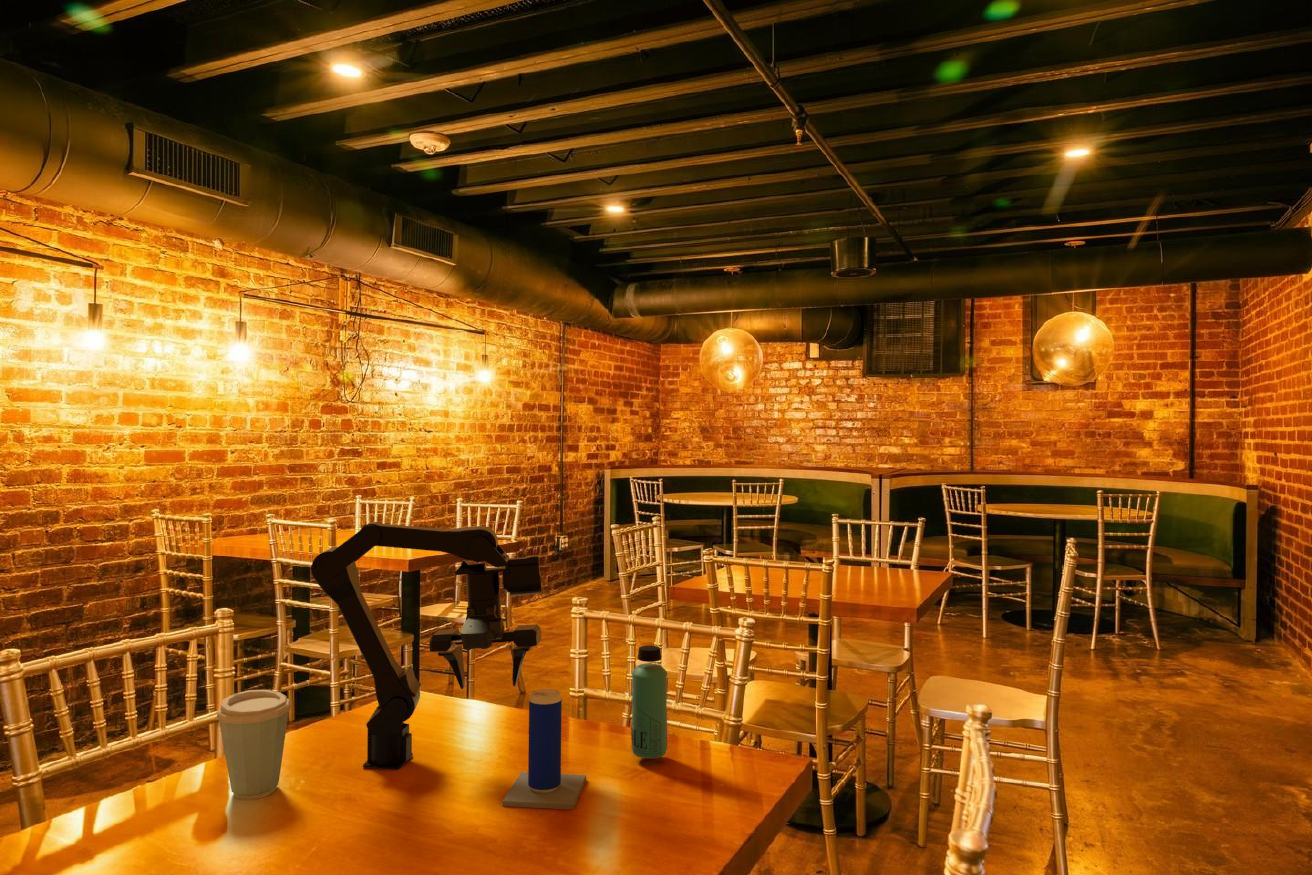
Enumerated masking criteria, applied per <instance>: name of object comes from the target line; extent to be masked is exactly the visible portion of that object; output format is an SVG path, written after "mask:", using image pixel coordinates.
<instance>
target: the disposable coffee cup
mask: <svg viewBox="0 0 1312 875" xmlns="http://www.w3.org/2000/svg"><path fill="white" fill-rule="evenodd" d="M287 697H288V696H287V695H285V694H283V693H282V692H279V691H275V690H270V689H269V690H268V689H249V690H248V689H247V690H245V691H240V692H236V693H233V694H231V695H228V696H227V697H225V698H223V699H222V701H221V704H220V707H219V709H218V711H217V713H216V720H217V721H218V723H219V728H220V735H221V739H222V746H223V751H224V756H225V761H226V768H227V773H228V778H229V779H228V780H229V784H230V785H229V786H230V789H231V793H233V797H235V798H236V799H238V800H244V801H245V800H246V801H249V800H250V801H251V800H256V799H257V800H258V799H261V798H264V797H266V796H270V795H271V794H273V793H274V792H275V791H277V788H278V786H279V782H280V776H281V770H282V769H281V768H282V762H283V754H284V747H285V741H286V735H287V734H286V733H287V726H288V720H289V711H290V710H291V706H292V705H291V700H290V699H289V698H287Z"/></svg>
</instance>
